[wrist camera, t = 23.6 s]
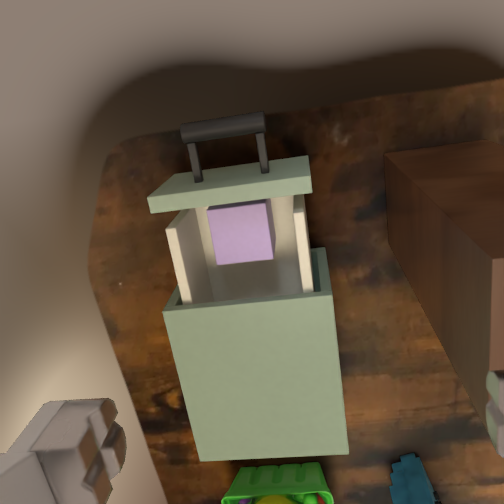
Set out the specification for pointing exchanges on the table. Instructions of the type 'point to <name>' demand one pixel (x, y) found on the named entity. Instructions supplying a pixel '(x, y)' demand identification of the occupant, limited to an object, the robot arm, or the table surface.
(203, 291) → the drawer
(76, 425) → the robot arm
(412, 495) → the handheld gaming console
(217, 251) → the lavender cube
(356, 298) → the table surface
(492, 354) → the stand
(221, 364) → the sage green nightstand
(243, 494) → the fruit basket
